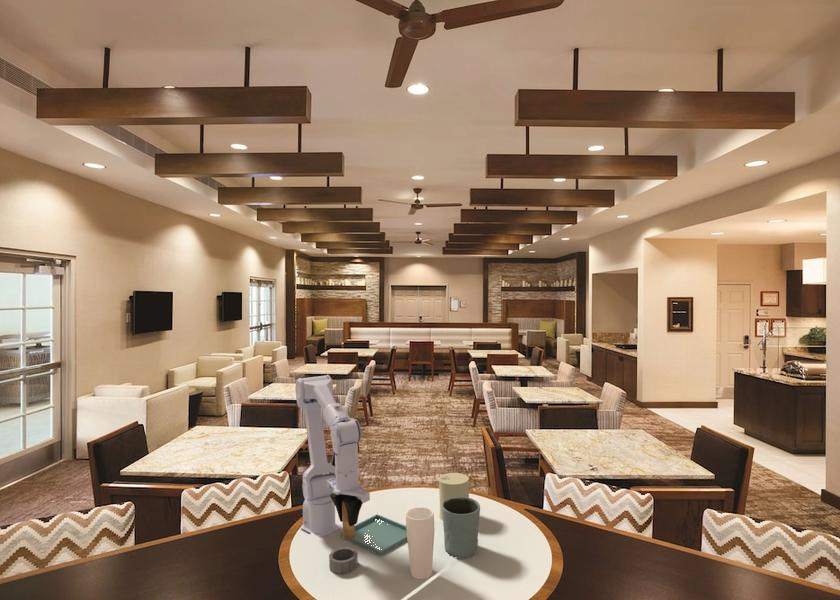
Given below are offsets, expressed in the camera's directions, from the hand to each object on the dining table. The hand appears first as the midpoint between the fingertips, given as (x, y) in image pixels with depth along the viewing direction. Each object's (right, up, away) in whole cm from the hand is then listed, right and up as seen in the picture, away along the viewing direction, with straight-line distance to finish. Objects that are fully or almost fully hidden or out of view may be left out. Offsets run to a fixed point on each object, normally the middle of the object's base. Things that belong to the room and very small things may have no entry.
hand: (348, 522), depth 123 cm
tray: (+7, -10, +12) cm, 17 cm away
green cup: (+29, -10, +5) cm, 31 cm away
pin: (0, -4, 0) cm, 4 cm away
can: (+29, -9, +24) cm, 38 cm away
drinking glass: (+18, -10, -6) cm, 22 cm away
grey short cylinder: (-1, -10, -2) cm, 11 cm away
